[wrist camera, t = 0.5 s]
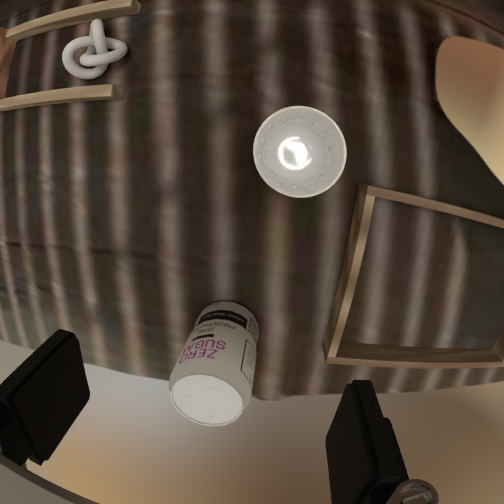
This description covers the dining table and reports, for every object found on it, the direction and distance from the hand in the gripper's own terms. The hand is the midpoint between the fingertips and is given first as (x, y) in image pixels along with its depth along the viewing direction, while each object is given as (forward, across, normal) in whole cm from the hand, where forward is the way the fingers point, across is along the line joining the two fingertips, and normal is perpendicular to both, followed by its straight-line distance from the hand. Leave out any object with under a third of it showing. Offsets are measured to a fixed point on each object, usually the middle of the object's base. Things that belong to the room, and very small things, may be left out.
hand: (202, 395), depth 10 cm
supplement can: (+29, +2, +15) cm, 33 cm away
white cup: (+30, -3, -8) cm, 31 cm away
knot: (+30, +23, -21) cm, 43 cm away
